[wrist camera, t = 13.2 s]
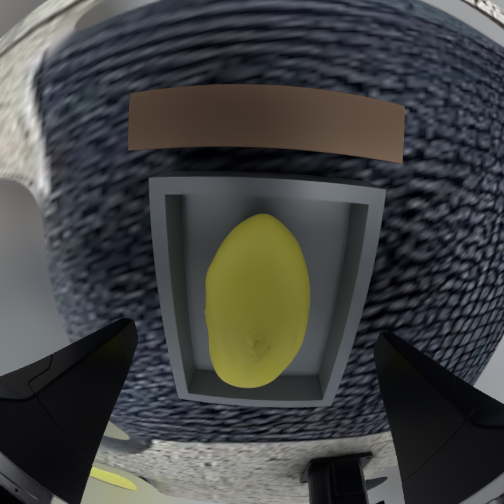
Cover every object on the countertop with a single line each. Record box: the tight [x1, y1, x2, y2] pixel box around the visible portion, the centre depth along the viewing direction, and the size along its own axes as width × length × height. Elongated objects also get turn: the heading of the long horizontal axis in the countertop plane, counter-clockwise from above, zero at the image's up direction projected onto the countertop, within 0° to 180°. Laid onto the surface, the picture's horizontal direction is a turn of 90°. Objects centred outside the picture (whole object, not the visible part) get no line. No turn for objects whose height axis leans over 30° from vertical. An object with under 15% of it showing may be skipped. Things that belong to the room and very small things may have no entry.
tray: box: [149, 171, 386, 407], centre depth 12 cm, size 11×8×2 cm
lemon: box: [204, 214, 310, 388], centre depth 10 cm, size 4×8×4 cm, turn 171°
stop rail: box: [128, 84, 405, 164], centre depth 9 cm, size 2×9×3 cm, turn 88°
